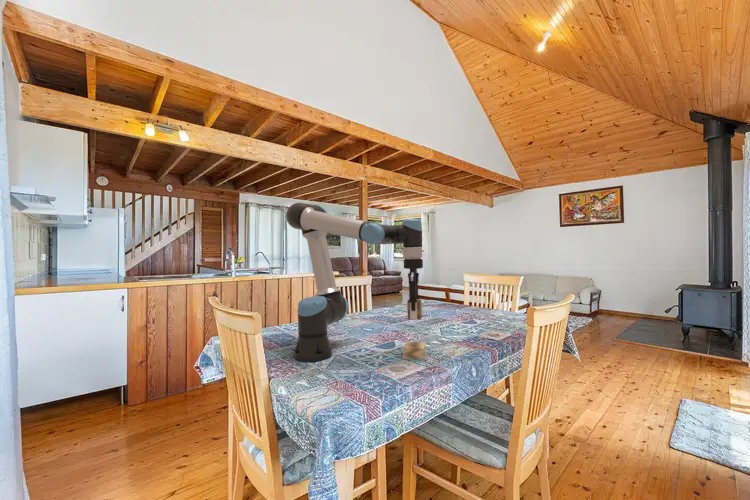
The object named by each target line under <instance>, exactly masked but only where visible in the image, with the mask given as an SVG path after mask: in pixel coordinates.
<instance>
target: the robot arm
mask: <svg viewBox="0 0 750 500" xmlns="http://www.w3.org/2000/svg"><path fill="white" fill-rule="evenodd" d="M285 212H286V213H285V218H286V222H287V223H288V225H289V226H290V227H291V228H293V229H295V230H300V231H301V235H302V237H303V238H305V239H306V241H307V246H308V251H309V255H310V256H309V257H310V261H311V266H312V267H311V268H312V272H313V275H314V281H315V285H316V290H317V291H316V293H315V294H314V296H308V297H304V298H302V299H300V301H298V303H297V326H298V327H297V329H298V331H297V332H298V338H297V341H296V345H295V349H294V353H293V354H294V359H295V358H296V359H297V360H296V359H295V360H296V361H299V360H300V361H299V362H304V361H314V362H318V361H323V360H327V359H329V358H330V357H332V356H333V347H332V344H331V342H330V340H329V337H328V326H329V325H331V324H333V323H337V322H339V321H341V320H343V319H344V318H345V317H346V315H347V314H348V312H349V302H348V299H347V298H346V297H345V296H344V295H342V291H341V289H340V288H338V287H337V284H336V283H337V282H336V280H335V275H334V269H333V266H332V261H331V255H330V250H329V244H328V241H327V234H333V235H337V236H341V237H344V238H349V239H353V240H358V241H362V242H364V243H366V244H370V245H394V244H403V245H402V247H403V248H402V257H403V258H404V259H403V268H404V269H408V270H409V272H408V273H407V278H408V295H409V297H408V298H409V299H408V300H409V301H408V300H407V301H408V302H410V319H417V300H416V299H421V297H420V296H419V276H420V273H419V272H418V270H419V269H420V270H421V269H423V267H424V260H423V253H424V252H425V250H424V249H423V226H422V225H423V224H422V220H421V219H419V218H408V219H407V218H406V219H403V220H402V223H401V224H398V225H397V224H391V225H389V224H380V223H376V222H371V221H365V220H360V219H357V218H352V217H347V216H342V215H337V214H332V213H329V212H328V211H327V209H326V208H324V207H323V206H320V205H317V204H310V203H304V202H294V203H292V204H290V206H289V207H288V208H287V210H286V211H285Z"/></svg>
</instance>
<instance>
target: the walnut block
mask: <svg viewBox="0 0 750 500" xmlns="http://www.w3.org/2000/svg"><path fill="white" fill-rule="evenodd" d="M416 300H417V319H410V302H408V301H409V299H408V300H407V320H410V321H411V320H412V321H413V320H414V321H415V320H416V321H419V320H422V318H423V317H422V316H423V315H422V314H423V313H422V299H421V298H420V299H416Z"/></svg>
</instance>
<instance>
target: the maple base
mask: <svg viewBox="0 0 750 500" xmlns="http://www.w3.org/2000/svg"><path fill="white" fill-rule="evenodd" d="M426 346H427V345H426V342H425V341H424V342H422V341H421V342H420V341H405V343H404V345H403V354H404V358H413V359H412V360H420V359H425V354H426V352H427V349H426Z"/></svg>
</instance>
